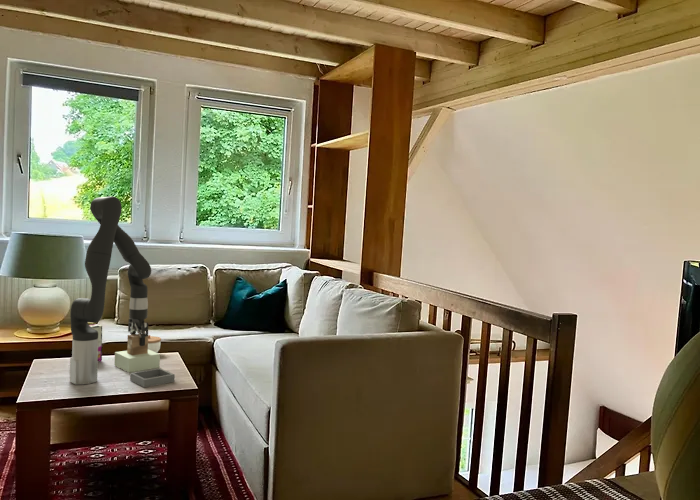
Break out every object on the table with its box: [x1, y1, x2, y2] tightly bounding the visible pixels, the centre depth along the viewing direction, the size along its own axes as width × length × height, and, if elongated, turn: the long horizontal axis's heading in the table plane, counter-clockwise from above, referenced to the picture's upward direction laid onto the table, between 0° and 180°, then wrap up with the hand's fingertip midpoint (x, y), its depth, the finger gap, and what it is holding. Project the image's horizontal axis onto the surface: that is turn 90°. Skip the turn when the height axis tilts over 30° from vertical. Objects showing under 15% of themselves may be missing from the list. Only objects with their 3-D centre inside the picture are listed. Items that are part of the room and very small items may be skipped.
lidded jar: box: [148, 334, 162, 353], centre depth 272 cm, size 11×11×9 cm
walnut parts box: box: [126, 333, 148, 355], centre depth 250 cm, size 5×7×8 cm
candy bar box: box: [88, 323, 103, 362], centre depth 253 cm, size 11×5×16 cm, turn 143°
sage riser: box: [114, 349, 161, 373], centre depth 250 cm, size 14×14×6 cm
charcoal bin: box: [129, 367, 175, 388], centre depth 230 cm, size 13×12×3 cm
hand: (137, 343), depth 250 cm, fingers open, 8 cm apart
